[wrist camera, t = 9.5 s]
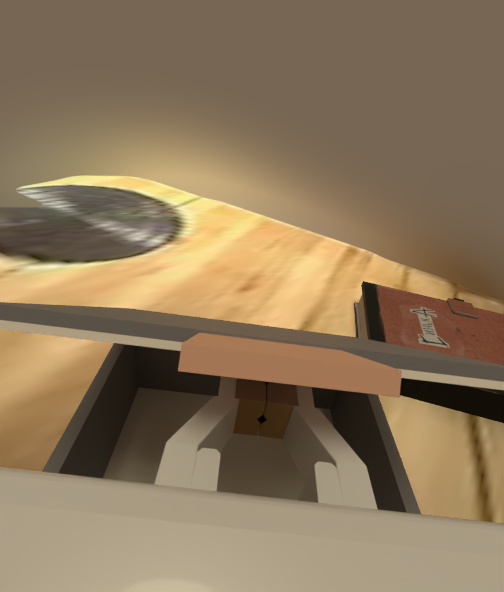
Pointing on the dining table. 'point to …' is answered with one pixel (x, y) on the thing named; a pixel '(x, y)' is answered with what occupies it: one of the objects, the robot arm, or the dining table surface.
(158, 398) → the box
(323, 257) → the dining table surface
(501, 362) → the book
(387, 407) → the dining table surface
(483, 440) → the dining table surface
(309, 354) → the lid
